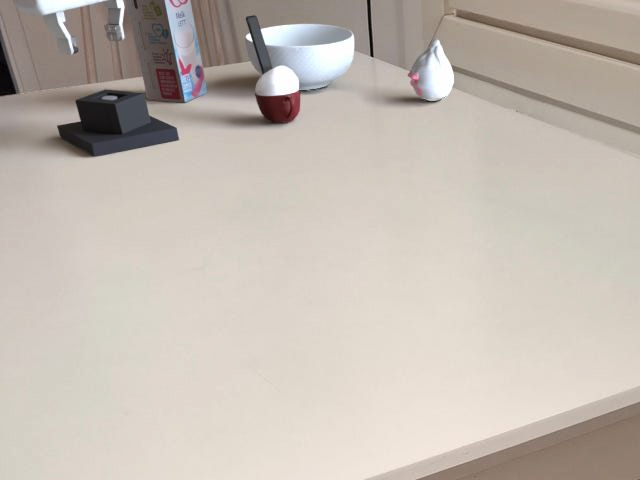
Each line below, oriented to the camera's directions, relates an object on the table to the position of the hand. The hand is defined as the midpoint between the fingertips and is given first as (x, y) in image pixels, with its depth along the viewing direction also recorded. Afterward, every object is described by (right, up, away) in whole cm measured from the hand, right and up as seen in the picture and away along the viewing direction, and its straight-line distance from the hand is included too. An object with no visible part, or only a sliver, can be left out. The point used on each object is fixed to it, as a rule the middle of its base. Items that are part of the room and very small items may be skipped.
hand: (94, 47), depth 117 cm
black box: (+1, -7, +6) cm, 9 cm away
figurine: (+43, +6, +22) cm, 48 cm away
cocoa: (+21, -1, +14) cm, 26 cm away
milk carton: (+3, +8, +25) cm, 26 cm away
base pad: (0, -8, +7) cm, 11 cm away
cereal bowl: (+22, +13, +30) cm, 39 cm away
